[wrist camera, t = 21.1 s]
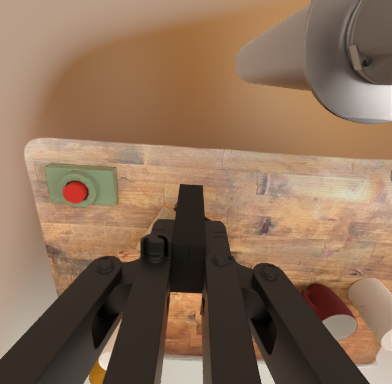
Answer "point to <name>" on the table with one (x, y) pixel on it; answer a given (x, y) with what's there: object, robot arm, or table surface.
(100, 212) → the table surface
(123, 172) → the table surface
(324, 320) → the mug
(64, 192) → the stop button
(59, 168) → the control pad
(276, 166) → the table surface
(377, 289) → the cup
